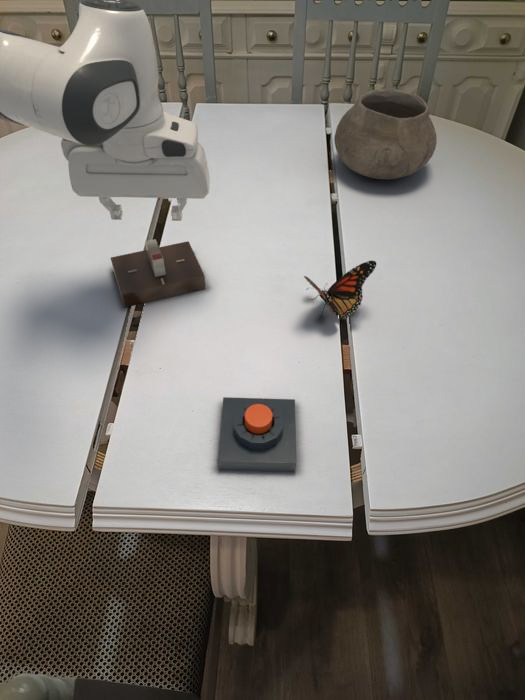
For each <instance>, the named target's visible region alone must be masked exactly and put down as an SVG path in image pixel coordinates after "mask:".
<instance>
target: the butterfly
mask: <svg viewBox="0 0 525 700" xmlns="http://www.w3.org/2000/svg"><path fill="white" fill-rule="evenodd" d="M376 267H377V262H376V260H368V261H365V262H362V263H360V264H358V265H356V266H355V267H353V268H351V269H350V270H348V271H347V272H346V273H344V274H343V275H342V276H341V277H339V278H338V279H337V280H336V281H335V282H334V283H333V284H332V285H331V286H330V287H329V288H328V289H327V290H326V286H327V285H328V282H326V284H325V285H324V287H323V288H324V289H322V288H319V286H317V284H316V283H315V282H314V281H313V280H312V279H310V278H309V277H308V276H306V275H303V278H304V279H305V280H306V281H307V282H308V283H309V284H310V285H311V286H312V288H313V289H315V290H316V291H317V293H318V296H319V297H320V299H322V301H324V305H323V308H322V311H321V312H322V313H321V315H320V316H319V317H320V318H319V320H321V318H322V316H323V313H324V310H325V307H328V309H330V311H331V312H332V314H333V315H334V316H335V317H336V318H337V320H340V319H342V320H345V319H348V318H350V317H351V316H353V315H354V314H355V312H356V311H357V310H358V308H359V307H360V306H361V305H362V301H363V298H364V296H363V286H364V284H365V282H366V280H367V279H368V278H369V277H370V276H371V275H372V273H373V272H374V271H375V270H376ZM307 290H309V287H307V288H306V291H307ZM318 296H316V297H314V298H308V301H310V300H311V301H312V300H313V301H314V300H315V299H317V298H318ZM339 317H340V318H339Z"/></svg>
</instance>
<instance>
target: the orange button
mask: <svg viewBox="0 0 525 700" xmlns="http://www.w3.org/2000/svg"><path fill="white" fill-rule="evenodd" d="M272 417H273V415H272V411H271V410H270V409H269V408H268V407H267V406H265V405H263V404H254V405H252V406H250V407H249V408H248V409H247V410H246V412H245V426H246V428H247V429H248V430H249V431H250V432H252V433H254V434H263V433H265V432H267V431H268V430H269V429H270V428H271V426H272Z"/></svg>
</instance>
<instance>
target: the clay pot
mask: <svg viewBox="0 0 525 700" xmlns="http://www.w3.org/2000/svg"><path fill="white" fill-rule="evenodd" d="M333 138H334V139H333V140H334V147H335V150H336V153H337V156H338V157H339V158H340V160H341V161H342V163H343V164H344V165H345V166H346V167H347V168H349V170H351V171H353V172H355V173H356V174H359V175H360V176H364V177H367V178H372V179H375V180H395V179H397V180H398V179H401V178H404V177H407V176H411V175H413V174H414V173H416V172H417V171H419V170H421V169H422V168H424V167H425V166H426V165H427V164H428V162H429V161H430V160H431V159H432V158H433V156H434V153H435V151H436V147H437V144H438V143H437V131H436V128H435V125H434V123H433V121H432V119H431V117H430V107H429V105H428V103H427V102H426V100H425V99H424V98H422V97H421V96H419V95H417V94H415V93H413V92H410V91H407V90H401V89H398V88H379V89H378V88H377V89H372V90H368V91H366V92H364V93H362V94H361V95H360V96H359V97H358V99H357V100H356V101H355V103H354V104H353V105H352V107H350V108H349V109H348V110H347V111H346V112H345V113H344V114H343V115H342V117H341V118H340V120H339V122H338V124H337V126H336V129H335V133H334V137H333Z"/></svg>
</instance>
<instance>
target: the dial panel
mask: <svg viewBox="0 0 525 700" xmlns="http://www.w3.org/2000/svg"><path fill="white" fill-rule="evenodd" d="M159 249H160V251H161V254H162V256H163V259H164V266H165V272H166V275H163V276H159V277H155V275H154V272H153V269H152V267H151V264H150V261H149V259H148V255H147V249H144V250H139V251H135V252H130V253H126V254H125V253H124V254H121V255H116V256H111V257H110V262H111V267H112V270H113V273H114V276H115V280H116V284H117V286H118V289H119V293H120V296H121V300H122V303H123V306H124V308H129V307H133V306H138V305H141V304H142V305H143V304H146V303H150V302H155V301H160V300H164V299H168V298H172V297H176V296H181V295H185V294H189V293H194V292H198V291H202V290H206V289H207V288H206V276H205V274H204V272H203V269H202V267H201V265H200V262H199V261H198V258H197V256H196V254H195V252H194V250H193V248H192V246H191V244H190V241H183V242H178V243H173V244H168V245H164V246H159Z"/></svg>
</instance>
